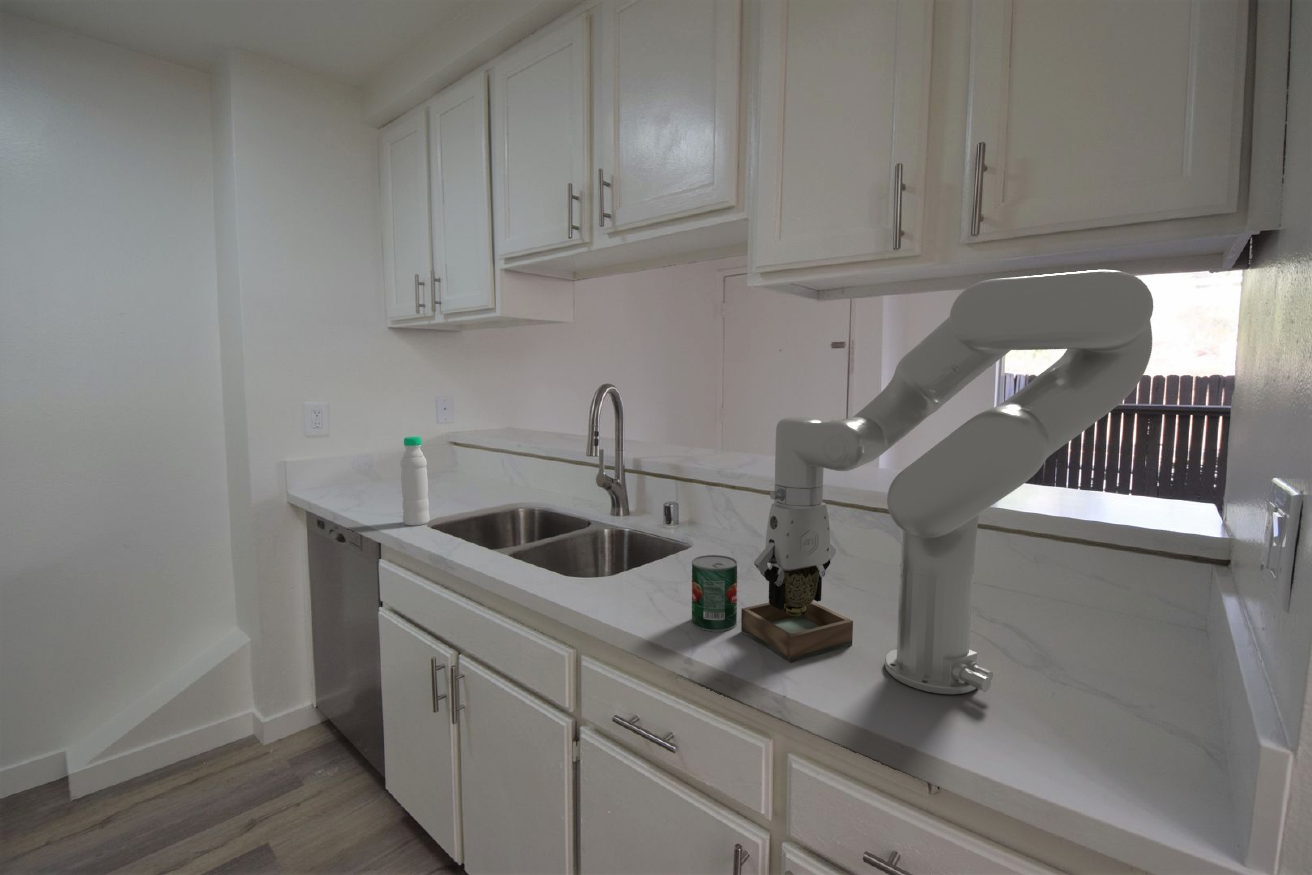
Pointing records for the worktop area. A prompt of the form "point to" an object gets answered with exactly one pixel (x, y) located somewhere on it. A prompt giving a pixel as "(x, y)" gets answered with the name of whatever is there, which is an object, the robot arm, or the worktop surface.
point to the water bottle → (414, 483)
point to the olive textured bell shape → (799, 589)
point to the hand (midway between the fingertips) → (795, 601)
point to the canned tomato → (714, 593)
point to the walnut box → (797, 630)
